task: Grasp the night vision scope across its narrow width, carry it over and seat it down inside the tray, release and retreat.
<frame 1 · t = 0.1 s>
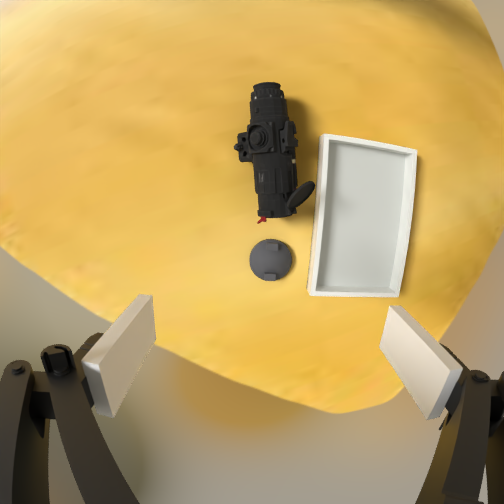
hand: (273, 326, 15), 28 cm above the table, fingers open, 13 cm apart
lens cap: (270, 258, 44), on the table
night vision scope: (270, 154, 40), on the table
tray: (360, 218, 42), on the table
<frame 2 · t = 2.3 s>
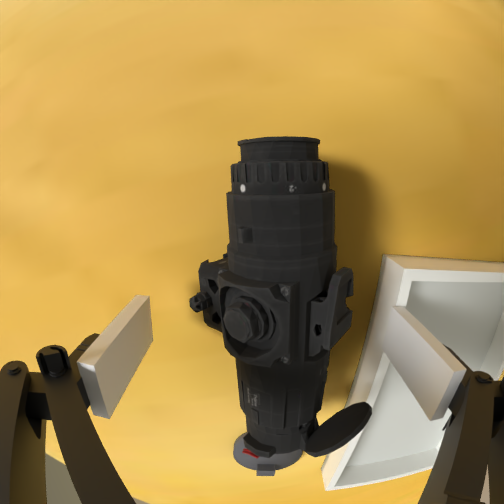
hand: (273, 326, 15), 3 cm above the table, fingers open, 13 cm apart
lens cap: (267, 444, 22), on the table
night vision scope: (276, 295, 19), on the table
tray: (423, 384, 20), on the table
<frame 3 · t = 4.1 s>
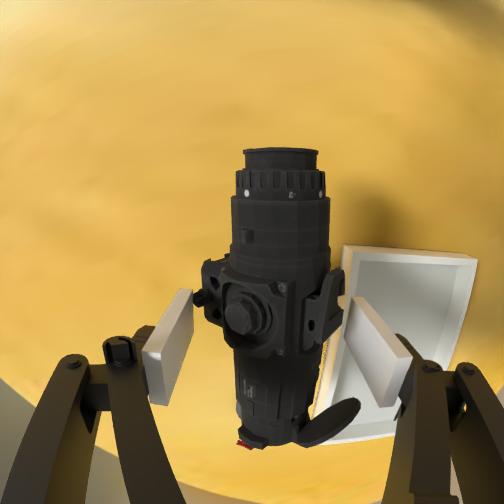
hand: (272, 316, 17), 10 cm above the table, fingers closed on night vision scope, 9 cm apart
night vision scope: (273, 295, 20), point 7 cm above the table, touching gripper
tray: (388, 350, 28), on the table
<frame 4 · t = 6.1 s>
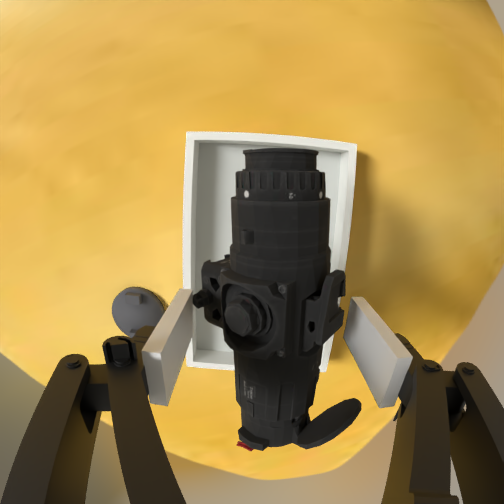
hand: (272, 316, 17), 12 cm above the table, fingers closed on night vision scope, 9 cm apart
lens cap: (140, 311, 31), on the table
night vision scope: (273, 295, 20), point 9 cm above the table, touching gripper
tray: (264, 257, 29), on the table
when the fingers open (4 cm above the table, at t = 8.0 s): night vision scope stays where it is, resting on tray.
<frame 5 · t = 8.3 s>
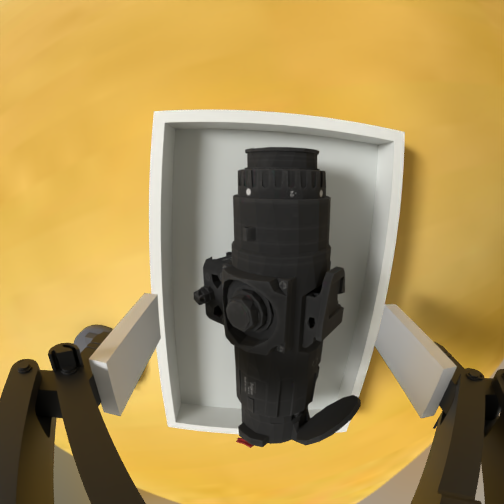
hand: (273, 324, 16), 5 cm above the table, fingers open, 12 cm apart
lens cap: (108, 354, 22), on the table
night vision scope: (274, 293, 20), resting on tray
tray: (268, 291, 20), on the table
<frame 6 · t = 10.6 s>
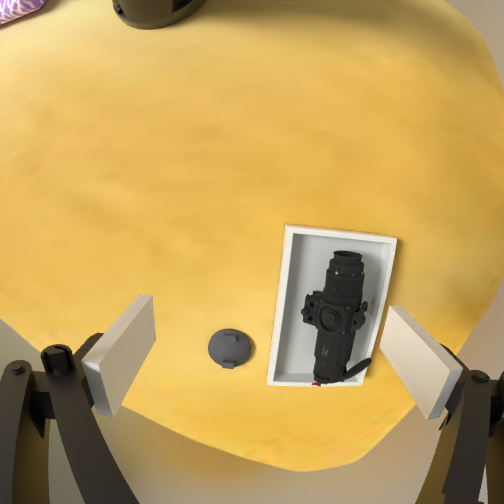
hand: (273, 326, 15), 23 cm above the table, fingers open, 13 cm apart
pencil case: (17, 11, 28), on the table
lens cap: (229, 345, 42), on the table
night vision scope: (330, 310, 40), resting on tray
tray: (326, 309, 40), on the table
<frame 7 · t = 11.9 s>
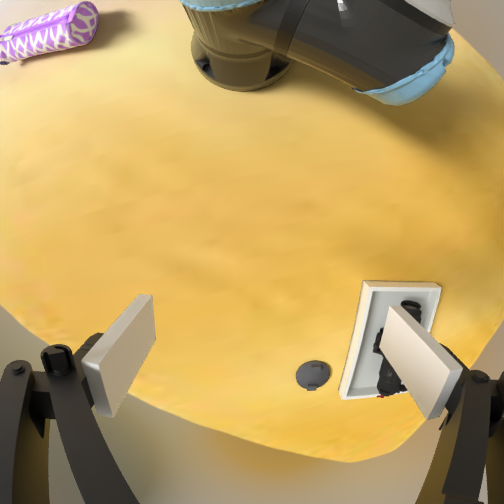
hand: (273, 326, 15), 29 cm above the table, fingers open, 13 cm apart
pencil case: (56, 39, 35), on the table
lens cap: (312, 372, 50), on the table
night vision scope: (390, 340, 47), resting on tray
tray: (386, 339, 48), on the table
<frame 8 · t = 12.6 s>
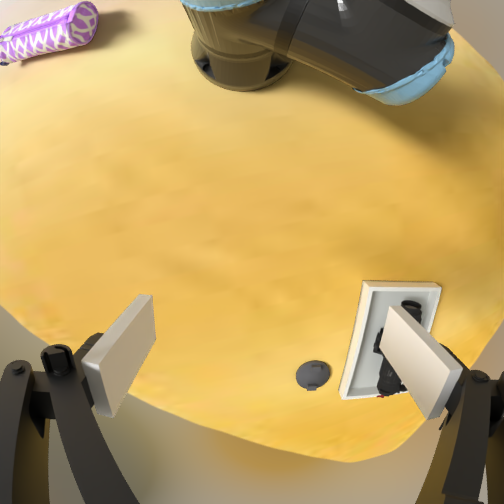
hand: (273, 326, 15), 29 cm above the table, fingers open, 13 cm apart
pencil case: (56, 40, 35), on the table
lens cap: (312, 372, 50), on the table
night vision scope: (390, 340, 47), resting on tray
tray: (386, 339, 48), on the table
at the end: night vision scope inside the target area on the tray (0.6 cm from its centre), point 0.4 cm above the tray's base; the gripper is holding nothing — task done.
